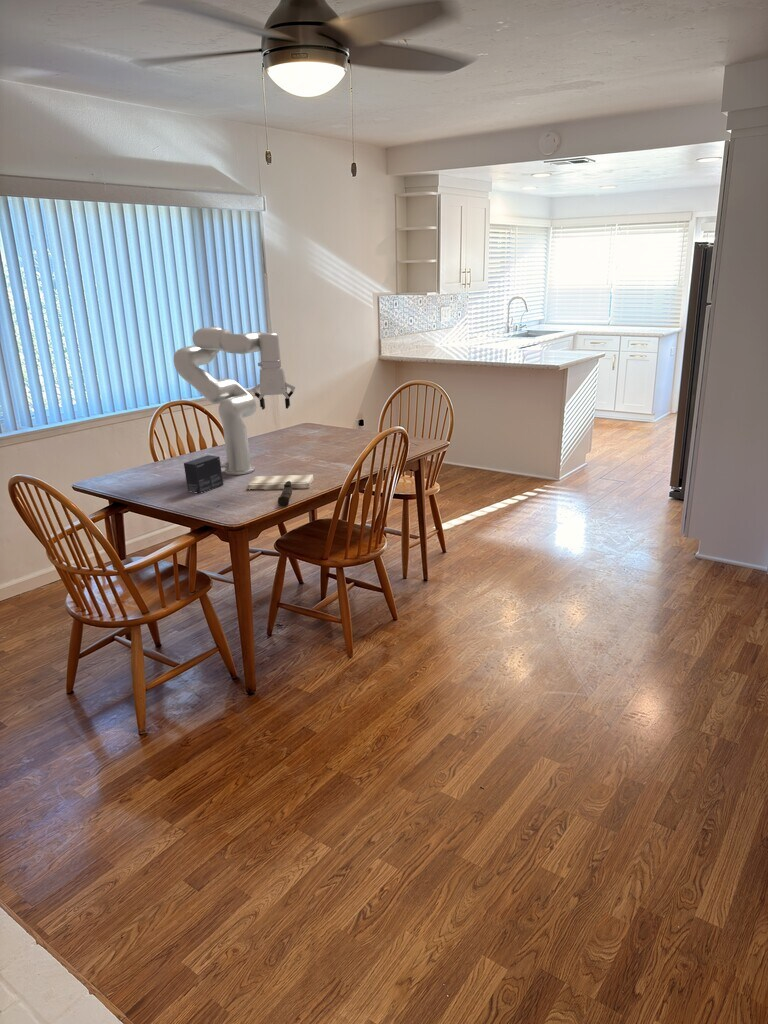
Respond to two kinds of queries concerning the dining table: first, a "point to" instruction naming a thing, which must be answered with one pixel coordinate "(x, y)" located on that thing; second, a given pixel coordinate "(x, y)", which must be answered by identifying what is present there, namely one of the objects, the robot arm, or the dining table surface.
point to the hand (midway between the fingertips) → (275, 408)
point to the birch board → (280, 481)
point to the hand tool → (285, 494)
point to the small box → (203, 473)
